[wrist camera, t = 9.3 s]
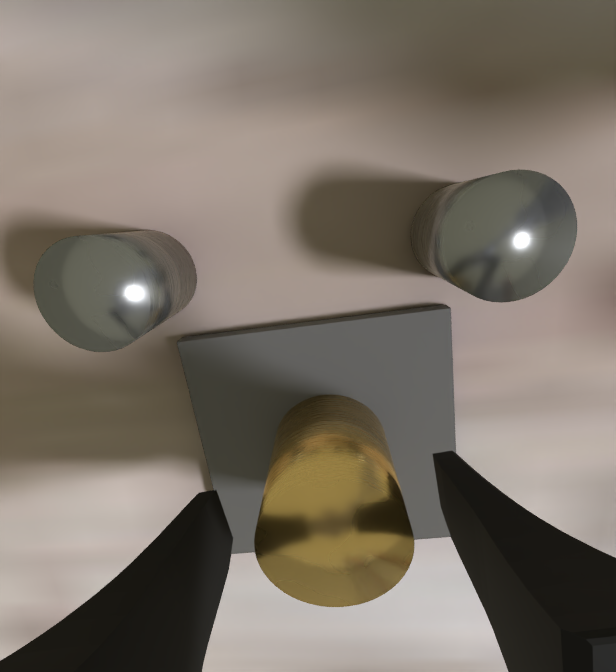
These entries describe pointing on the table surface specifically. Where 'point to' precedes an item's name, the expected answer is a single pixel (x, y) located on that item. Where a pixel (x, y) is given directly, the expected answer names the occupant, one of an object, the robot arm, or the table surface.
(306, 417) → the brass round stock
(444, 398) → the mat
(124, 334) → the spacer posts
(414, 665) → the table surface
